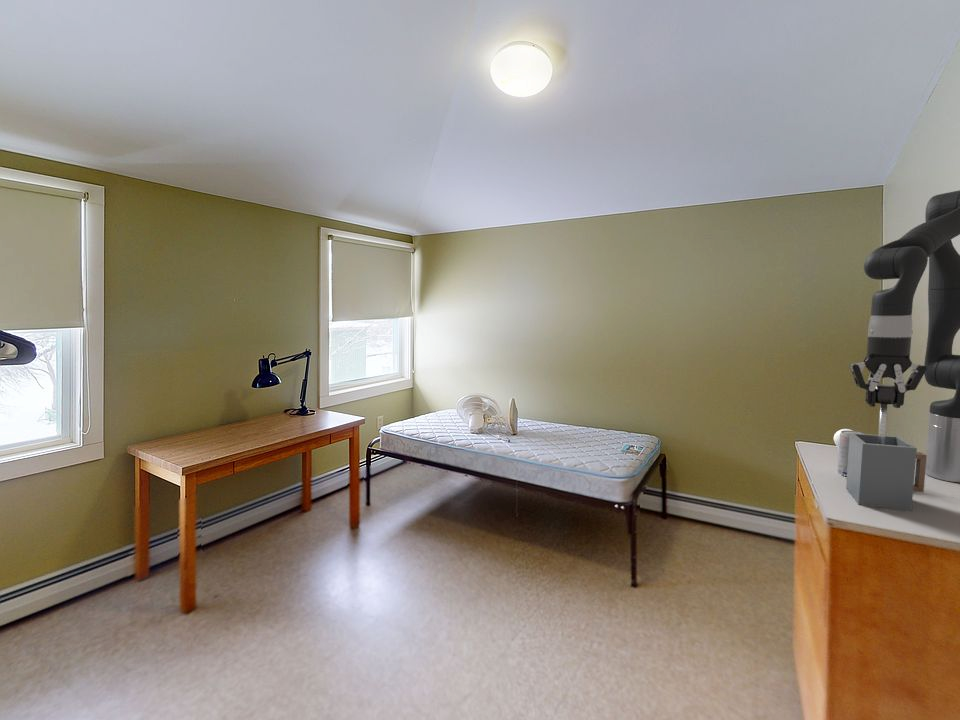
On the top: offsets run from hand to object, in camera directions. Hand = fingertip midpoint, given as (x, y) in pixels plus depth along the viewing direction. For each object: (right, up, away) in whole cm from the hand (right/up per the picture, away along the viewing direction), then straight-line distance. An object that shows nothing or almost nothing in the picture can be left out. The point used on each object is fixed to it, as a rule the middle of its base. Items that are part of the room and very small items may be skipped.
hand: (883, 406), depth 105 cm
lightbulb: (+12, -20, +25) cm, 34 cm away
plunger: (+1, -16, +2) cm, 16 cm away
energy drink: (+7, -21, +18) cm, 29 cm away
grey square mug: (+2, -23, +2) cm, 23 cm away
